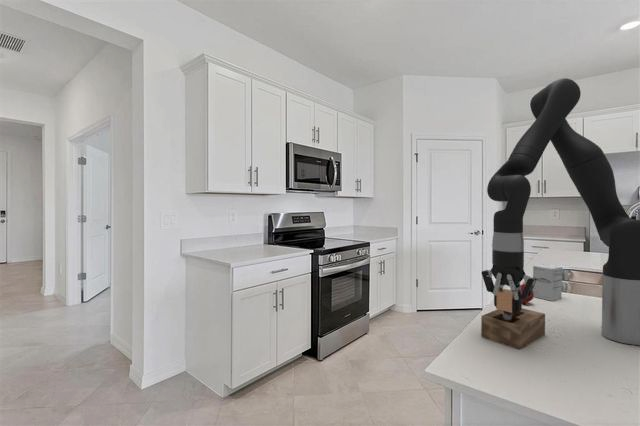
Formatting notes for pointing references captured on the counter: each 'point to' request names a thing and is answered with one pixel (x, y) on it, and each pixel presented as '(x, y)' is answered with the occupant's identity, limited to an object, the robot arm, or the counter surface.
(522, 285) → the onion
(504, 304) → the brown square-topped part
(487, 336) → the keyhole block
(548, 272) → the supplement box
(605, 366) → the counter surface
